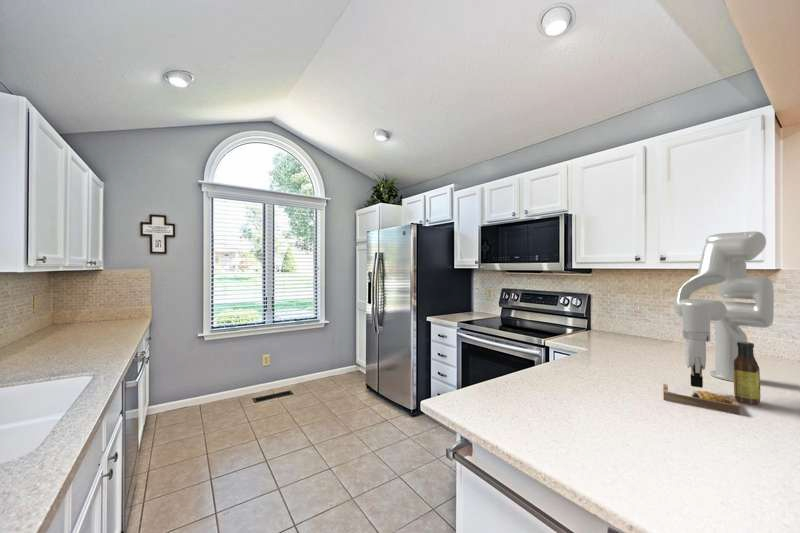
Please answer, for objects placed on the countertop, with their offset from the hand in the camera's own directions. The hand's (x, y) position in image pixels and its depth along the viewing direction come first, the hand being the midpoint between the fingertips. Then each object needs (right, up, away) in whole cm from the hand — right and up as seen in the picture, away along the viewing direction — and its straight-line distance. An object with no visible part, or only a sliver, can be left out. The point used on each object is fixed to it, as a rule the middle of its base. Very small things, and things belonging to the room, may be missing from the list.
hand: (696, 386), depth 122 cm
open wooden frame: (-7, -2, -9) cm, 12 cm away
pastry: (-4, -3, -9) cm, 11 cm away
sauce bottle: (+10, -3, -8) cm, 13 cm away
